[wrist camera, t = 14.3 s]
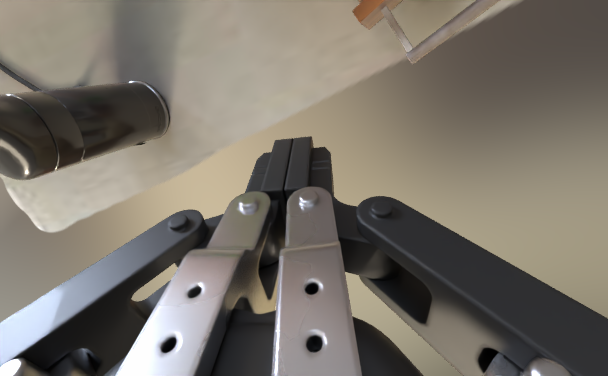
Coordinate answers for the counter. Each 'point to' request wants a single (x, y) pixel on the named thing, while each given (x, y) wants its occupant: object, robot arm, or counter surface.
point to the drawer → (379, 4)
